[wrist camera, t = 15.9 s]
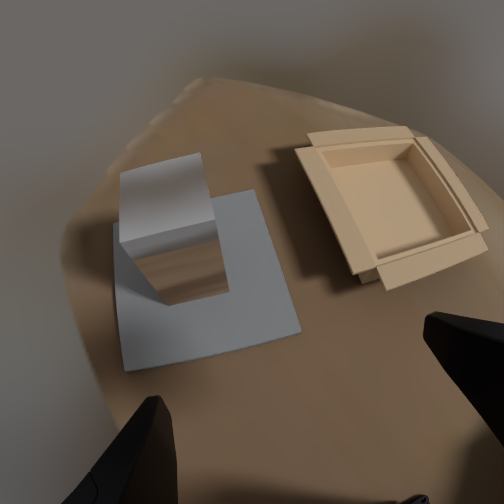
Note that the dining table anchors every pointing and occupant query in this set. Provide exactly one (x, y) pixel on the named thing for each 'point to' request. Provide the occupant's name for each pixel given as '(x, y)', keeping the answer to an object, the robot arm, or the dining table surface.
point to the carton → (392, 203)
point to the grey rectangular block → (172, 229)
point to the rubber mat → (211, 308)
